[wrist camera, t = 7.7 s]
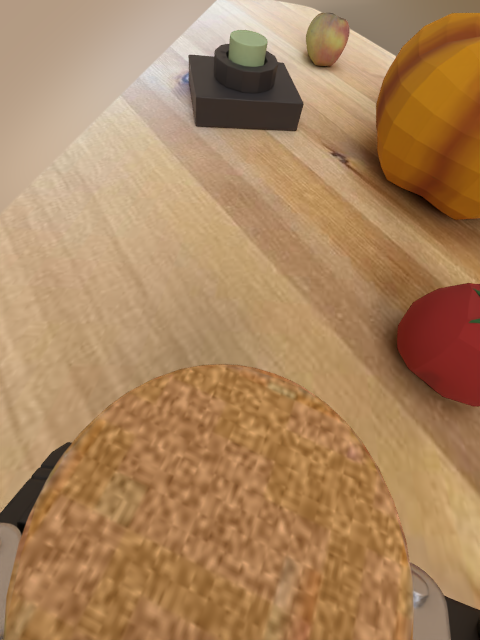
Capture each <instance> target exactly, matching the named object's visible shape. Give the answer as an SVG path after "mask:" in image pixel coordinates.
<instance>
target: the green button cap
mask: <svg viewBox="0 0 480 640" xmlns="http://www.w3.org/2000/svg"><path fill="white" fill-rule="evenodd" d="M266 48H267V39H266V38H265V37H264V36H262V35H261V34H259V33H256V32H253V31H248V30H237V31H233V32H232V33H231V34H230V44H229V57H228V58H229V59H230V60H231V61H232V62H234V63H236V64H240V65H243V66H250V67H258V66H263V65H264V61H265V54H266Z"/></svg>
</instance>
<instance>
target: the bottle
mask: <svg viewBox="0 0 480 640" xmlns="http://www.w3.org/2000/svg"><path fill="white" fill-rule="evenodd" d="M413 614H414V607H413V581H412V574H411V568H410V562H409V555H408V549H407V543H406V539H405V535H404V532H403V529H402V526H401V523H400V520H399V516H398V513H397V510H396V507H395V504H394V501H393V498H392V496H391V494H390V492H389V490H388V487H387V485H386V483H385V481H384V479H383V476H382V474H381V472H380V470H379V468H378V466H377V465H376V463H375V461H374V460H373V458H372V457H371V455H370V454H369V452H368V450H367V449H366V447H365V446H364V444H363V442H362V441H361V440H360V438H359V437H358V436H357V435H356V434H355V432H354V431H353V430H352V429H351V428H350V426H349V425H348V424H347V423H346V422H345V421H344V420H343V419H342V418H341V417H340V416H339V415H338V414H337V413H336V412H335V411H334V410H333V409H332V408H331V407H329V406H328V405H327V404H326V403H325V402H324V401H322V400H321V399H319V398H318V397H317V396H315V395H314V394H312V393H311V392H310V391H308V390H307V389H305V388H304V387H302V386H300V385H298V384H296V383H295V382H293V381H291V380H288V379H286V378H284V377H281V376H279V375H276V374H273V373H270V372H267V371H263V370H260V369H257V368H252V367H246V366H240V365H227V364H219V365H201V366H195V367H190V368H184V369H180V370H177V371H174V372H171V373H168V374H165V375H163V376H160V377H157V378H154V379H152V380H150V381H148V382H146V383H144V384H143V385H141V386H139V387H137V388H135V389H133V390H131V391H129V392H128V393H126V394H125V395H123V396H122V397H120V398H119V399H118V400H116V401H115V402H114V403H112V404H111V405H109V406H108V407H107V408H106V409H105V410H104V411H103V412H102V413H101V414H100V415H98V416H97V417H96V418H95V419H94V420H93V421H92V422H91V423H90V424H89V425H88V426H87V427H86V428H85V429H84V430H83V431H82V432H81V433H80V434H79V435H78V437H77V438H76V439H75V440H74V441H73V443H72V444H71V445H70V446H69V448H68V449H67V450H66V451H65V452H64V454H63V455H62V457H61V458H60V460H59V461H58V463H57V464H56V466H55V467H54V469H53V470H52V472H51V473H50V475H49V477H48V479H47V481H46V483H45V485H44V487H43V489H42V491H41V493H40V495H39V497H38V499H37V501H36V503H35V505H34V507H33V509H32V511H31V513H30V515H29V517H28V520H27V522H26V525H25V528H24V531H23V534H22V536H21V539H20V542H19V545H18V549H17V553H16V557H15V562H14V566H13V570H12V575H11V579H10V583H9V587H8V592H7V597H6V611H5V625H4V639H3V640H413Z"/></svg>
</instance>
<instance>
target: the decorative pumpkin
mask: <svg viewBox="0 0 480 640" xmlns="http://www.w3.org/2000/svg"><path fill="white" fill-rule="evenodd" d="M376 128H377V152H378V156H379V160H380V164H381V167H382V170H383V172H384V174H385V176H386V178H387V180H388V181H390V182H392V183H394V184H396V185H397V186H399V187H401V188H403V189H406V190H408V191H411V192H413V193H416V194H418V195H420V196H422V197H423V198H425V199H426V200H427V201H428V202H430V203H431V204H432V205H433V206H435V207H436V208H437V209H438V210H440V211H441V212H443V213H445V214H446V215H448V216H449V217H451V218H452V219H454V220H456V219H474V218H480V13H452V14H450V15H448V16H445V17H443V18H441V19H439V20H437V21H434V22H432V23H430V24H428V25H426V26H424V27H423V28H422V29H421V30H420V31H419V32H418V33H417V34H416V35H414V36H413V37H412V38H411V39H410V40H409V41H408V42H407V43H406V44H405V45H404V46H403V47H402V49H401V50H400V52H399V53H398V55H397V57H396V58H395V60H394V62H393V63H392V65H391V66H390V68H389V70H388V72H387V74H386V76H385V78H384V80H383V83H382V87H381V90H380V93H379V97H378V100H377V104H376Z"/></svg>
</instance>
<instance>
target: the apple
mask: <svg viewBox="0 0 480 640" xmlns="http://www.w3.org/2000/svg"><path fill="white" fill-rule="evenodd" d="M348 37H349V25H348V22H347V21H346V20H345V19H342V18H340V17H338V16H336V15H335V14H333V13H321V14H318V15H317V16H316V17H315V18H314V19H313V20H312V22H311V24H310V26H309V28H308V31H307V34H306V44H307V52H308V55H309V57H310V58H311V60H312V61H313V63H314V64H315V65H317V66H331V65H332V64H334V63H335V62H336V61H337V59H338V58H339V56H340V55H341V53H342V52H343V50H344V48H345V46H346V43H347V40H348Z"/></svg>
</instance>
